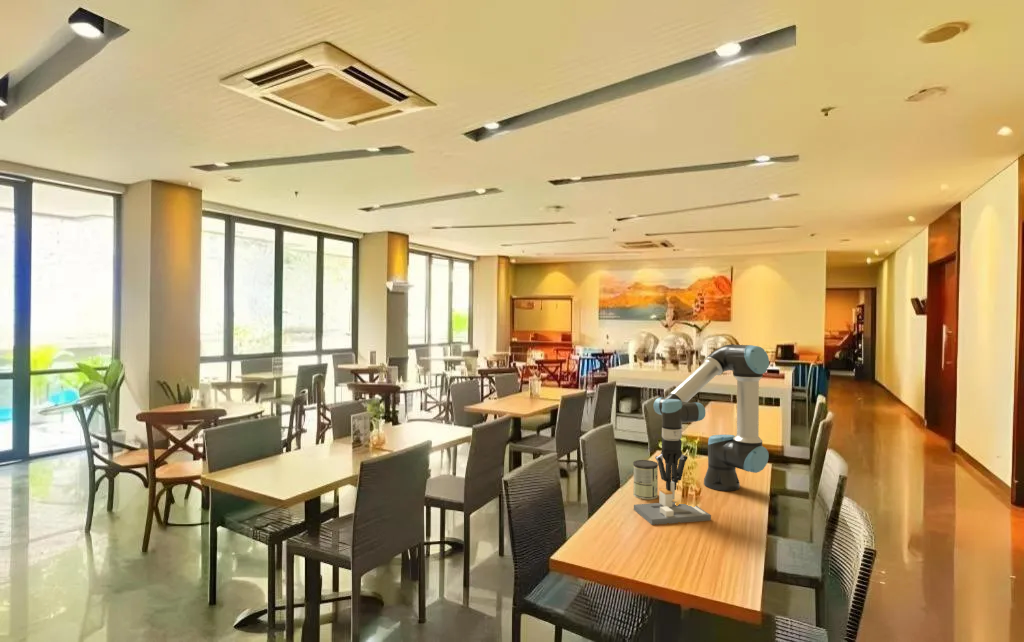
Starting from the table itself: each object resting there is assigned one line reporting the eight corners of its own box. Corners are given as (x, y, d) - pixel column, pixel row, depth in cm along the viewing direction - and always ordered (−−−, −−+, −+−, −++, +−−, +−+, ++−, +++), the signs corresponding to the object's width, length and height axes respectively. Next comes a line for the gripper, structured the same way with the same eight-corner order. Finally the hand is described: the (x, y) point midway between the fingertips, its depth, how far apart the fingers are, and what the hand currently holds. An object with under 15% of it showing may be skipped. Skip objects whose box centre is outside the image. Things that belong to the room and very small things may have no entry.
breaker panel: (688, 505, 220) (689, 495, 220) (710, 520, 204) (710, 509, 204) (633, 509, 215) (633, 499, 215) (651, 524, 199) (651, 514, 199)
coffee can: (631, 491, 238) (631, 459, 238) (655, 492, 237) (655, 460, 237) (634, 499, 227) (634, 465, 227) (659, 500, 226) (659, 466, 226)
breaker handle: (666, 502, 216) (666, 488, 216) (672, 506, 211) (672, 492, 211) (659, 503, 216) (659, 488, 215) (665, 507, 211) (665, 492, 211)
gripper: (660, 441, 209) (660, 502, 209) (691, 440, 211) (691, 500, 211) (652, 437, 216) (651, 496, 216) (681, 436, 218) (681, 494, 219)
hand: (671, 498), depth 214 cm, fingers closed
